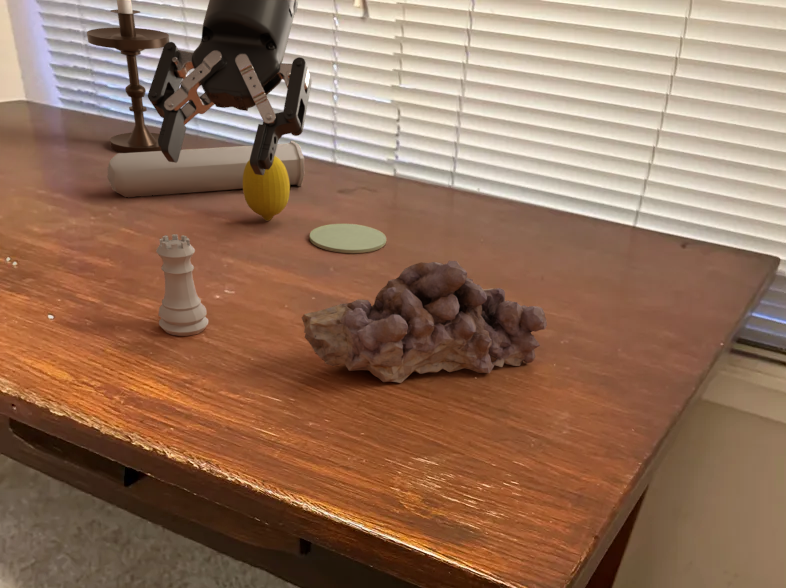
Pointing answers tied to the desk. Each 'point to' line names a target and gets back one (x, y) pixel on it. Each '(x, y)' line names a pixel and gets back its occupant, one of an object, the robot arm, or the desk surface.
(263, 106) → the robot arm
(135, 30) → the candlestick
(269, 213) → the lemon
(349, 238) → the coaster
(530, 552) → the desk surface
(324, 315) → the mineral specimen
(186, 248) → the rook chess piece
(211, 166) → the tube
